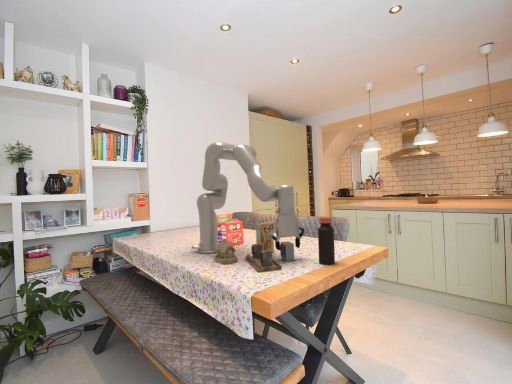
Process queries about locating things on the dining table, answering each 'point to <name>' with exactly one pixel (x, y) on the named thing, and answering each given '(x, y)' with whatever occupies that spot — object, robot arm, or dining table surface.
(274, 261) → the brown display stand
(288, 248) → the finger block
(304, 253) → the dining table surface
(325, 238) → the bottle
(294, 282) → the dining table surface
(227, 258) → the ceramic model
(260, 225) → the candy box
